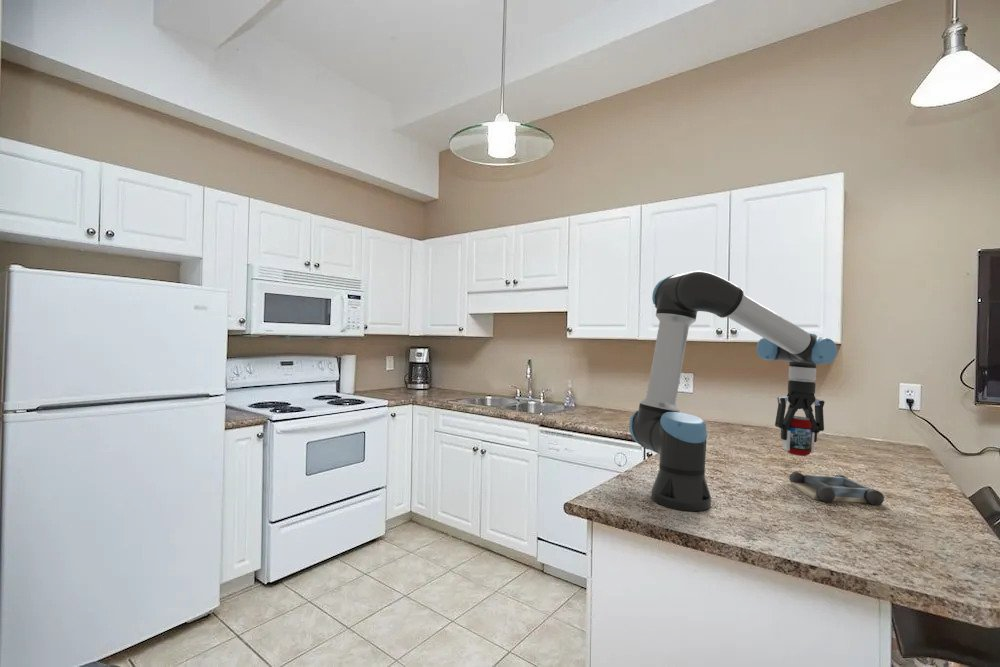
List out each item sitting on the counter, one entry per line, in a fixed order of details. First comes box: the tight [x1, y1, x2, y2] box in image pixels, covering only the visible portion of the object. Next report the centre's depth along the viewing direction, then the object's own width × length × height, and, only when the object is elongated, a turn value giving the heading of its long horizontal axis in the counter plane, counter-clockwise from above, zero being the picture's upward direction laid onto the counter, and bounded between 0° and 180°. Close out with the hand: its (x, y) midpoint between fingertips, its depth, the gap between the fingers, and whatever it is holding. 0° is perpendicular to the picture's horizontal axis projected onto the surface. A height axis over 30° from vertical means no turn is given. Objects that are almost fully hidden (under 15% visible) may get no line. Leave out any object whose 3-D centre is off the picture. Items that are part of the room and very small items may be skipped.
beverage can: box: [787, 415, 812, 457], centre depth 152 cm, size 7×7×12 cm
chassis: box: [789, 471, 885, 506], centre depth 139 cm, size 18×16×4 cm
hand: (797, 450), depth 152 cm, fingers closed on beverage can, 7 cm apart
